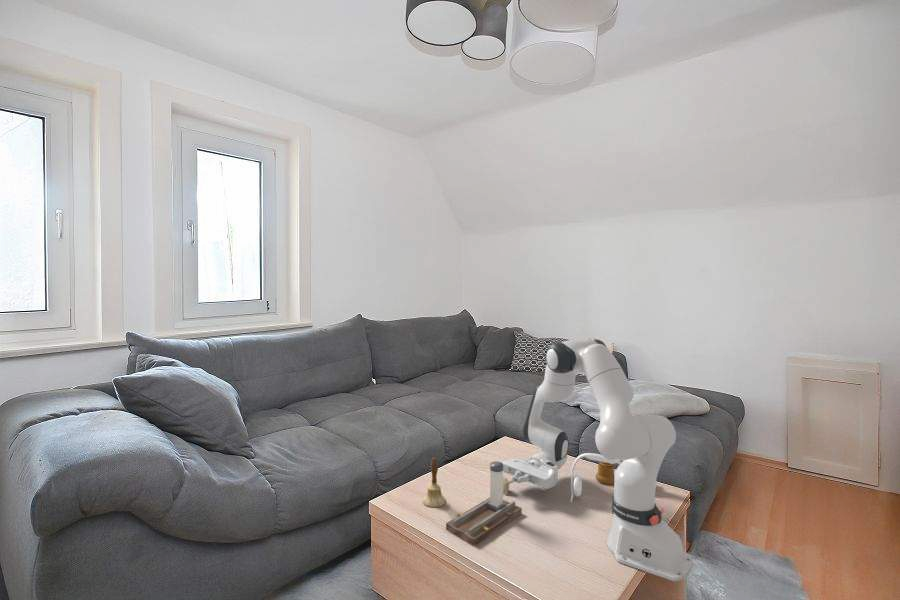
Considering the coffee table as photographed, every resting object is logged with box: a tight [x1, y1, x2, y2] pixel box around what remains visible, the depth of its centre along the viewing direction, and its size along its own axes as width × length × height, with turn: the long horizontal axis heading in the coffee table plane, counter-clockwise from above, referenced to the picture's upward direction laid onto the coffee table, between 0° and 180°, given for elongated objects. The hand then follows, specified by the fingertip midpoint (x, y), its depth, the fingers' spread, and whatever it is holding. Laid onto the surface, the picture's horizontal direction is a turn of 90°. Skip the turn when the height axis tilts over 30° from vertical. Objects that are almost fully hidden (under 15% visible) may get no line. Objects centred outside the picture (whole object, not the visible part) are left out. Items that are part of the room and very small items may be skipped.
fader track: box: [445, 497, 523, 547], centre depth 142 cm, size 12×24×4 cm, turn 136°
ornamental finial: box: [595, 461, 615, 486], centre depth 169 cm, size 8×8×8 cm
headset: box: [570, 452, 623, 504], centre depth 152 cm, size 20×7×18 cm, turn 64°
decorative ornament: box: [503, 476, 515, 496], centre depth 162 cm, size 4×8×5 cm, turn 43°
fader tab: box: [487, 460, 506, 511], centre depth 146 cm, size 5×4×15 cm
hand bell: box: [421, 457, 447, 508], centre depth 154 cm, size 8×8×16 cm
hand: (515, 480), depth 154 cm, fingers closed
